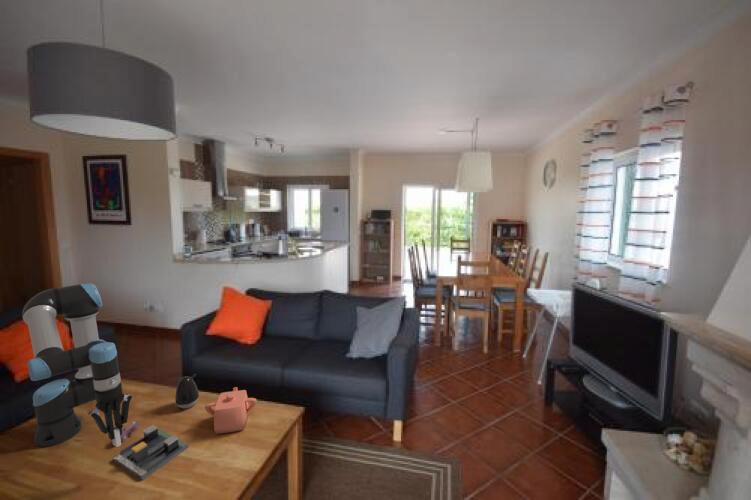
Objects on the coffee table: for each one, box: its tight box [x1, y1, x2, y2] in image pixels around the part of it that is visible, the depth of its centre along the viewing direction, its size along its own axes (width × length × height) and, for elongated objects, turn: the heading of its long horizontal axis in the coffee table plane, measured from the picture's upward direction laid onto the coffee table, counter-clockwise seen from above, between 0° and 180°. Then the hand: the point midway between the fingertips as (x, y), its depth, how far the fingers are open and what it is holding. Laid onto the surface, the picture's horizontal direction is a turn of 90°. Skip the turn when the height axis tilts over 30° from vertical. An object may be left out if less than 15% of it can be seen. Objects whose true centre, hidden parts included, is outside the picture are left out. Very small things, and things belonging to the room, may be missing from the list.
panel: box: [112, 424, 189, 481], centre depth 135 cm, size 20×18×6 cm
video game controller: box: [111, 421, 141, 445], centre depth 145 cm, size 10×5×7 cm, turn 169°
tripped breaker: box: [131, 442, 148, 462], centre depth 132 cm, size 3×4×5 cm
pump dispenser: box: [174, 373, 200, 409], centre depth 166 cm, size 10×10×15 cm
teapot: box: [204, 386, 257, 435], centre depth 156 cm, size 20×22×14 cm
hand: (117, 444), depth 124 cm, fingers closed
